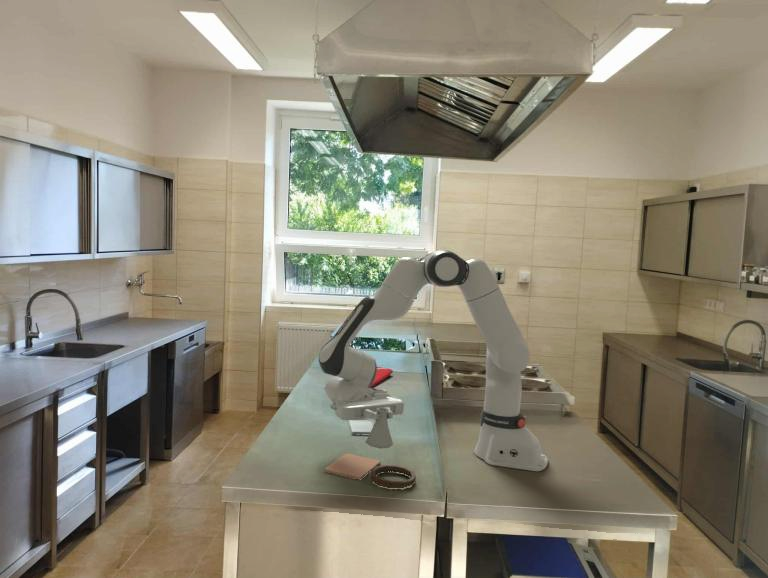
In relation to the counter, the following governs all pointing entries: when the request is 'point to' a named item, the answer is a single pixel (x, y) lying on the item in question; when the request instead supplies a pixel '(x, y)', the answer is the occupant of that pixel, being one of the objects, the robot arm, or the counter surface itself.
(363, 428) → the hard drive
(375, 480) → the ring holder
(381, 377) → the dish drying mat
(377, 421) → the flask
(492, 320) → the robot arm
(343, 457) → the terracotta pad
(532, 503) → the counter surface
